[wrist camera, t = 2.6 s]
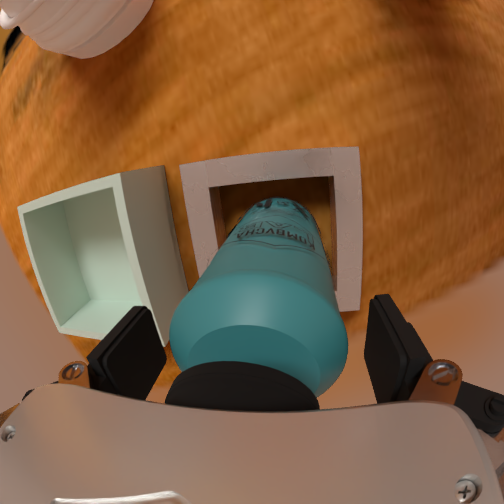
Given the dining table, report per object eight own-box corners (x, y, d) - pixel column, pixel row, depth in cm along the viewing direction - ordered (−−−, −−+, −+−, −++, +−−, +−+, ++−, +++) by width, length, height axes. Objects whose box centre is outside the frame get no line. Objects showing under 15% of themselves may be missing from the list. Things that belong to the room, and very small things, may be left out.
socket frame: (349, 147, 20) (358, 146, 17) (352, 292, 24) (359, 309, 21) (192, 163, 22) (179, 165, 19) (216, 300, 26) (208, 317, 24)
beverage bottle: (321, 260, 24) (364, 502, 5) (247, 270, 25) (166, 496, 6) (311, 185, 21) (416, 372, 3) (231, 199, 23) (49, 371, 4)
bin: (163, 165, 22) (119, 172, 16) (191, 303, 27) (165, 346, 20) (62, 192, 25) (17, 207, 18) (92, 301, 29) (59, 332, 23)
